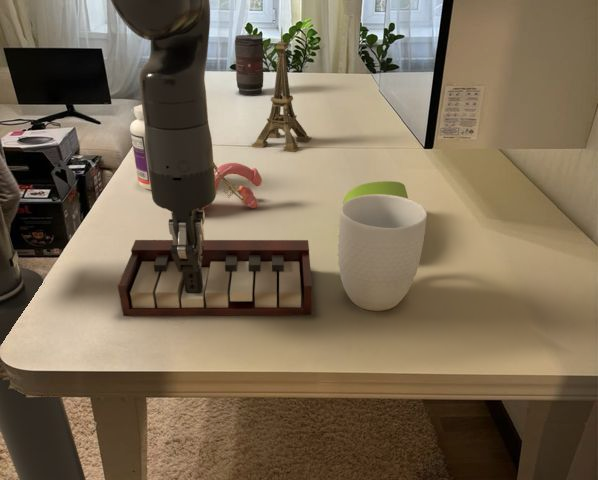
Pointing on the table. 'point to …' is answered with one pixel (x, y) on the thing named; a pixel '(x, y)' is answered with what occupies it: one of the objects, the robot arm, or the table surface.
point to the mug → (379, 248)
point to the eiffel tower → (284, 100)
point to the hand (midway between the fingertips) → (194, 290)
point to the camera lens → (249, 64)
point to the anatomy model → (242, 190)
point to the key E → (195, 298)
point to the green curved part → (377, 190)
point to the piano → (219, 279)
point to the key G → (242, 283)
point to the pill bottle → (140, 148)
